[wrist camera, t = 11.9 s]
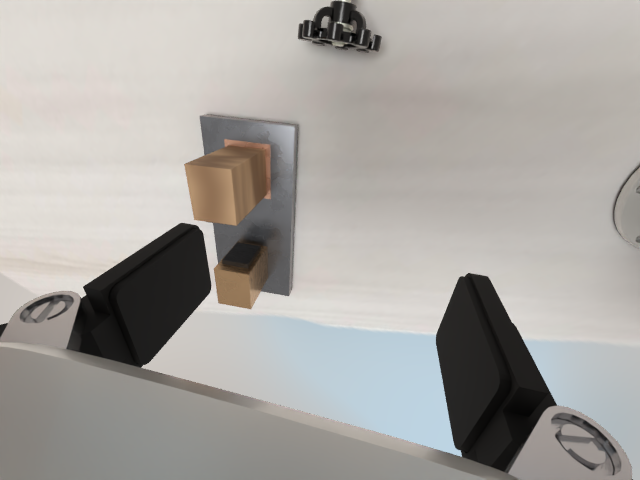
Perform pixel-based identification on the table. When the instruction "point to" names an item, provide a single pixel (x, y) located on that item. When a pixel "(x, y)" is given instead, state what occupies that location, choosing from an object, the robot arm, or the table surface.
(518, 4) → the table surface
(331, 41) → the valve
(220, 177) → the brown rectangular block
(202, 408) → the robot arm
